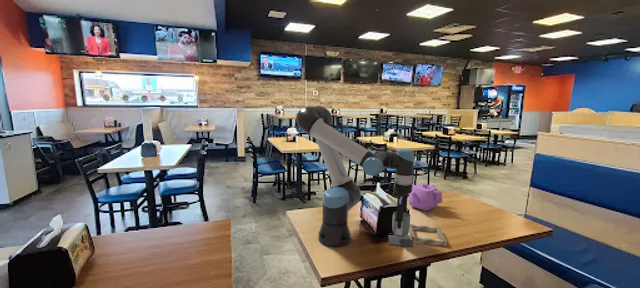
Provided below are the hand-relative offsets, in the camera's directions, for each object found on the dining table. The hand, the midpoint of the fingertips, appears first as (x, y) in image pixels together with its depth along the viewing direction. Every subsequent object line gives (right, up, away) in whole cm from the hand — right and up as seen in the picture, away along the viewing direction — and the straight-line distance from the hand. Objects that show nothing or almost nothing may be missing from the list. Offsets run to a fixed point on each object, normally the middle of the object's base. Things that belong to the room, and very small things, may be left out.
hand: (400, 230), depth 129 cm
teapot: (+26, +1, +42) cm, 50 cm away
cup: (0, -2, 0) cm, 2 cm away
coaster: (0, -5, +1) cm, 5 cm away
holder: (+14, -5, +5) cm, 16 cm away
